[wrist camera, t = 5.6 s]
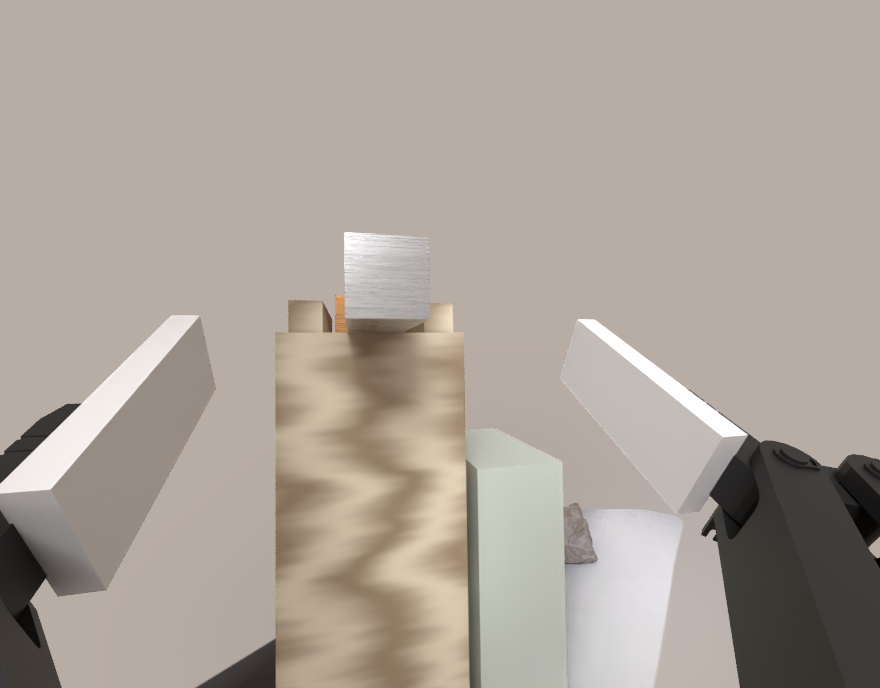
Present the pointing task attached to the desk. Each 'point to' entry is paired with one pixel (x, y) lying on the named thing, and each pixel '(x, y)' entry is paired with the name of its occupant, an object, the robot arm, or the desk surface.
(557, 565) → the pale green block
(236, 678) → the desk surface
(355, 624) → the stand
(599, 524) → the desk surface
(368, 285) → the grey long bar
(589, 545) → the stone
